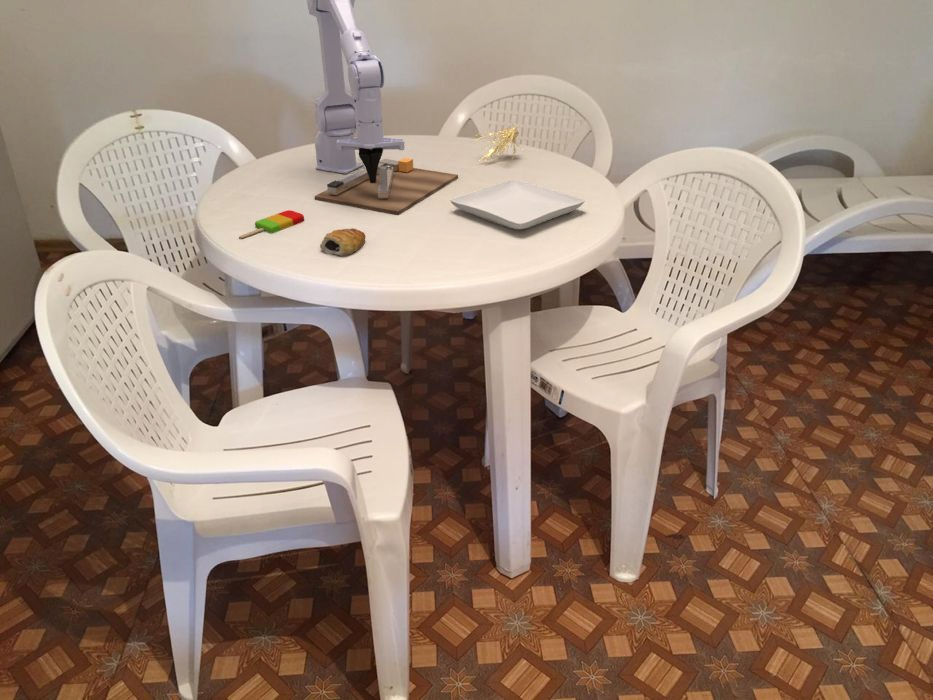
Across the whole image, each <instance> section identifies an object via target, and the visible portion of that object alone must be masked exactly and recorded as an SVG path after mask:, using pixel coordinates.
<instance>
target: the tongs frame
mask: <svg viewBox="0 0 933 700" xmlns="http://www.w3.org/2000/svg"><path fill="white" fill-rule="evenodd" d="M398 161H399V160H396V159H390V158H389V159H388V158H384V159H380V161H379V164H378V169H377V174H379V166H385V165H392V167H393V171H398V170H399V166H398ZM367 179H369V176H368V173H367V170H366V168H363V169H361V170H359V171H358V172H355V173H353V174H351V175H349V176H346V177H345V178H342V179H341V180H334V181H331V182H328V183H327V185H326V186H327V190H328V194H333V195H338V194H340V193H342V192H344V191H345V190H347V189H349V188H351V187H353V186H355V185H357V184H359V183H361V182H363V181H365V180H367Z"/></svg>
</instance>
